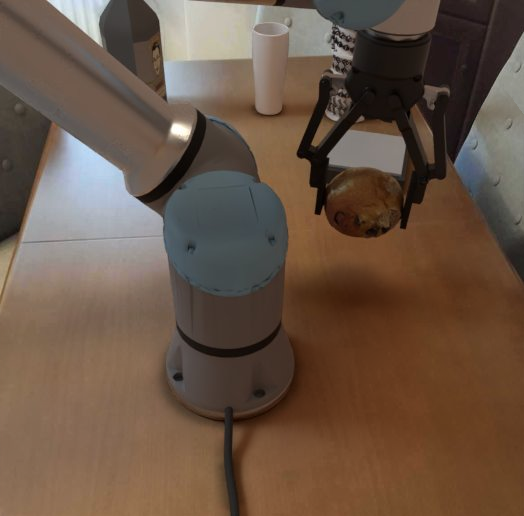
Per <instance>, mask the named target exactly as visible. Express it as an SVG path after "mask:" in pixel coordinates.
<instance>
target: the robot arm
mask: <svg viewBox="0 0 524 516" xmlns="http://www.w3.org/2000/svg"><path fill="white" fill-rule="evenodd" d="M189 1H191V2H207V3H224V4H239V5H254V6H268V7H281V8H291V9H301V10H302V9H303V10H316V12H317V13H318V15H319V16H320V17H321V18H323V19H324V20H327V21H329V22H331V23H332V24H333V23H334V24H336V27H337V26H339V27H341V28H344V29H348V30H356V36H355V44H354V51H353V58H352V65H351V69H350V71H349V72H348V73H347V75H344V74H334V73H333V71H332V70H331V68H328V69H325V70H323V72H322V75H321V77H320V79H319V83H318V98H317V102H316V104H315V105H314V106H315V107H314V109H313V111H312V114H311V116H310V119H309V121H308V123H307V126H306V129H305V131H304V133H303V136H302V138H301V141H300V143H299V145H298V148H297V149H296V153H295V154H296V157H297V158H298V159H300V160H303V159H305V160H307V161H308V162H309V164H310V170H309V171H310V172H309V181H308V184H309V188H313V189H317V190H316V198H315V206H314V215H317V216H321V214H322V210H323V209H324V195H325V189H326V187H327V184H328V183H327V175H328V167H329V159H330V158H329V157H327V155H328V154H329V153H330V152H331V150H332V149H333V148H334V147H335V146H336V144H337V143H338V142H339V141H340V140H341V138H342V137H343V136H344V135H345V133H346V132H347V131H348V130H351V127H353V126H354V125H355V124H357V123H356V121H357V120H358V119H359V118H360V117H361V116H363V117H364V119H365V120H366V121H367V120H368V121H374V120H375V121H376V120H379V121H381V122H384V123H388V124H392V123H393V122H395V124H396V126H397V129H398V131H399V133H400V134H401V137H403V139H404V142H405V145H406V147H407V150H408V153H409V155H408V156H409V158H410V161H411V163H412V166H413V169H414V170H413V169H412V170H411V175H410V179H409V183H408V187H407V191H406V195H405V199H404V207H403V213H402V219H400V223H399V229H400V230H407V227H408V222H409V220H410V219H409V218H410V215H411V210H412V206H413V204H415V205H421V204H422V203H423V201H424V197H425V194H426V190H427V187H428V184H429V181H431V180H434V179H436V180H438V181H443V180H444V179H446V178H447V173H448V172H447V170H448V157H447V156H448V155H447V153H448V152H447V151H448V150H447V131H446V112H447V108H448V106H449V101H450V93H451V91H450V90H451V89H450V86H449V85H448V84H445V83H444V84H441V85H440V86H438V87H437V86H432V85H428V84H426V82H425V77H424V75H425V70H426V65H427V62H428V57H429V52H430V48H431V43H432V39H433V35H432V33H431V30H433V29H434V27H435V26H436V23H437V22H436V21H437V17H438V13H439V8H440V4H441V0H189ZM0 86H2V87H3V88H4V89H6V90H7V91H8V92H10V93H11V94H12V95H14V96H15V97H17V98H19V99H20V100H21V101H23V103H25V104H27V105H28V106H30V107H31V108H32V109H34V110H35V111H37V112H38V113H39V114H41V115H42V116H44V117H45V118H47V120H49V121H51V123H54V124H55V125H56V126H58V127H59V128H60V129H62V130H63V131H64V132H66V133H68V134H69V135H70V136H71V137H73V138H75V139H76V140H78V141H79V142H80V143H82V144H83V145H85V146H86V147H87V148H88V149H90V150H92V151H93V152H94V153H96V154H97V155H99V156H100V157H101V158H103V159H104V160H105V161H107V162H108V163H110V164H111V165H113V166H114V167H115V168H117V169H118V170H120V171H121V172H122V175H123V181H124V186H125V191H126V192H127V193H128V194H129V195H130V196H131V197H133V198H135V199H136V200H138V201H139V202H140V203H141V204H143V205H145V206H146V207H148V208H149V209H150V210H152V211H153V212H155V213H156V214H158V215H159V216H160V217H161V218H162V223H163V225H162V237H163V244H164V249H165V252H166V254H167V263H168V271H169V277H170V279H169V280H170V286H171V294H172V304H173V311H174V318H175V319H174V320H175V327H174V330H173V332H172V335H171V339H170V342H169V346H168V348H167V351H166V356H165V375H166V381H167V384H168V387H169V389H170V391H171V394H172V395H173V396H174V398H175V399H176V400H177V401H178V402H179V403H180V404H181V405H182V406H183V407H185V408H186V409H188V410H189V411H191V412H192V413H195V414H197V415H199V416H202V417H204V418H208V419H212V420H219V421H224V432H223V433H224V437H223V458H224V459H223V462H224V463H223V464H224V475H225V481H226V488H227V494H228V499H229V500H228V501H229V508H230V509H229V511H230V512H229V513H230V516H240V513H241V512H240V503H239V496H238V490H237V485H236V484H237V483H236V479H235V477H236V476H235V470H234V462H233V461H234V460H233V438H234V437H233V435H234V434H233V433H234V432H233V430H234V421H240V420H247V419H250V418H251V419H252V418H253V417H257V416H259V415H262V414H264V413H266V412H268V411H269V410H271V409H272V408H275V406H277V405H278V404H279V403H280V402H281V401H282V400H283V399H284V398H285V397H286V395H287V394H288V392H289V391H290V389H291V387H292V383H293V382H294V381H293V380H294V376H295V375H294V374H295V357H294V350H293V347H292V345H291V342H290V340H289V337H288V334H287V331H286V329H285V327H284V324H283V322H282V321H283V307H284V291H285V276H286V262H287V261H286V260H287V252H288V250H289V238H290V236H289V227H288V221H287V214H286V213H287V212H286V209H285V207H284V205H283V202H282V200H281V198H280V196H279V194H277V192H275V190H274V189H273V188H272V187H271V186H270V185H269V184H267V183H265V182H264V181H262V180H261V178H260V175H259V169H258V166H257V161H256V157H255V156H254V153H253V151H252V150H251V147H250V145H249V144H248V143H247V140H245V138H244V137H243V136H242V134H241V133H240V132H239V130H238V129H236V128H235V127H234V126H233V125H232V124H230V123H228V122H227V121H226V120H223V119H222V118H219V117H216V116H213V115H209V114H206V115H204V113H203V112H201V111H200V110H199V109H198V108H197V107H195V106H194V105H193V104H191V103H190V102H188V101H181V102H175V103H169V102H168V101H167V102H166V101H165V100H164V99H162V98H161V97H160V96H159V95H158V94H157V93H155V92H154V91H153V90H152V89H151V88H149V87H148V86H147V85H146V84H145V83H144V82H142V81H141V80H140V79H139V78H138V77H137V76H135V75H134V74H133V73H132V72H131V71H129V70H128V69H127V68H126V67H125V66H124V65H122V64H121V63H120V62H119V61H118V60H117V59H115V58H114V57H113V56H112V55H111V54H109V53H108V52H107V51H106V50H105V49H104V48H103V47H102V45H100V43H98V42H97V41H95V40H94V39H93V38H92V37H91V36H89V34H87V33H86V32H85V31H84V30H83V29H81V28H80V27H79V26H78V25H77V24H75V23H74V22H73V21H72V20H71V19H69V18H68V17H67V16H66V15H65V14H64V13H63V12H61V11H60V10H59V9H58V8H57V7H56V6H55V5H53V4H52V3H51V2H50V1H48V0H0ZM343 87H345V89H346V91H347V93H348V95H349V97H350V99H351V100H352V102H351V103H350V105H349V106H348V108H347V109H346V111H345V112H344V113H343V115H342V116H341V117H340V118H339V120H338V121H335V123H334V125H333V126H332V127H331V128H330V130H329V131H328V132H327V134H326V135H325V136H324V137H323V139H321V141H320V142H319V144H317V145H316V146H315V145H313V141H314V139H315V136H316V134H317V132H318V130H319V127H320V125H321V122H322V120H323V118H324V116H325V114H326V113H325V111H326V109H327V106H328V103H329V101H330V98H331V96H336V95H337V94H338V91H339V89H340V88H343ZM422 99H425V101H426V106H427V108H428V110H430V111H432V116H431V124H432V142H433V159H434V162H433V163H430V162H429V158H428V156H427V154H426V151H425V148H424V144H423V142H422V140H421V139H422V138H421V136H420V134H419V131H418V127H417V125H416V122H415V119H414V115H413V111H412V108H413V107H415V106H416V104H418V102H420V101H421V100H422Z"/></svg>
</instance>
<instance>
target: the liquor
mask: <svg viewBox="0 0 524 516" xmlns="http://www.w3.org/2000/svg"><path fill="white" fill-rule="evenodd" d="M98 29H99V35H100V41H101V47H102V48H104V49H105V50H106V51H107V52H108V53H109V54H111V55H112V56H113V57H114V58H115V59H117V60H118V61H119V62H120V63H121V64H122V65H124V66H125V67H126V68H127V69H128V70H129V71H131V72H132V73H133V74H134V75H135V76H137V77H138V78H139V79H140V80H141V81H142V82H144V83H145V84H146V85H147V86H148V87H149V88H151V89H152V90H153V91H154V92H155V93H157V94H158V95H159V96H160V97H161V98H162V99H164V100H165V101H166V102H167V103H168V94H167V85H166V83H167V82H166V74H165V63H164V55H163V54H164V53H163V45H162V34H161V33H162V32H161V23H160V19H159V16H158V14H157V13H156V12H155V10H153V8H152V7H151V6H150V5H149V4H148V3H147V2H146V1H145V0H109V1H108V3H107V5H106V6H105V8H104V9H103V11H102V13H101V14H100V16H99V21H98Z"/></svg>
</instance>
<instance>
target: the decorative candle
mask: <svg viewBox="0 0 524 516" xmlns="http://www.w3.org/2000/svg"><path fill="white" fill-rule="evenodd" d="M331 30H332V31H331V35H330V38H331V39H332V43H331V47H330V51H331V52H332V62H331V66H330V70H332V71H333V73H334V74H344V75H347V73H348V72H349V71H350V69H351V65H352V58H353V51H354V44H355V36H356V30H348V29H344V28H341V27H339V26H337V25H336V24H334V23H332V26H331ZM351 102H352V100H351V99H350V97H349V95H348V93H347V91H346V89H345V87H343V88H340V89H339V91H338V94H337V95H336V96H331V98H330V101H329V103H328V106H327V109H326V111H325V113H324V114H325V115H326V117H327V118H329V119H331V120H332V121H334V122H337V121H338V120H339V118H340V117H341V116H342V115H343V113H344V112H345V111H346V109H347V108H348V106H349V105H350V103H351ZM365 120H366V119H364V117H363V116H361V117H360V118H359V119H358V120H357V121H356V123H355V124H357V123H360V122H363V121H365Z"/></svg>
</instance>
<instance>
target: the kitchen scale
mask: <svg viewBox="0 0 524 516" xmlns="http://www.w3.org/2000/svg"><path fill="white" fill-rule="evenodd" d="M409 156H410V155H409V153H408V150H407V147H406V145H405V142H404V139H403V136H402V135H393V134H384V133H378V132H370V131H364V130H363V131H362V130H356V129H349V130H348V131H347V132H346V133H345V135H344V136H343V137H342V138H341V140H340V141H339V142H338V143H337V144H336V146H335V147H334V148H333V149H332V150H331V152H330V153H329V154H328V155H327V157H329V158H330V159H329V167H328V175H327V183H326V184H329V183H330V182H331V181H332V180H333V178H335V177H336V176H337V175H338V174H340V173H341V172H343V171H345V170H346V169H349V168H355V167H371V168H376V169H378V170H381V171H383V172H385V173H388V174H389V175H391V176H392V177H393V178H395V179H396V180H397V182H398V183H399V185H400V187H401V189H402V192H403V191H404V186H405V183H406V175H407V168H408V161H409Z"/></svg>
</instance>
